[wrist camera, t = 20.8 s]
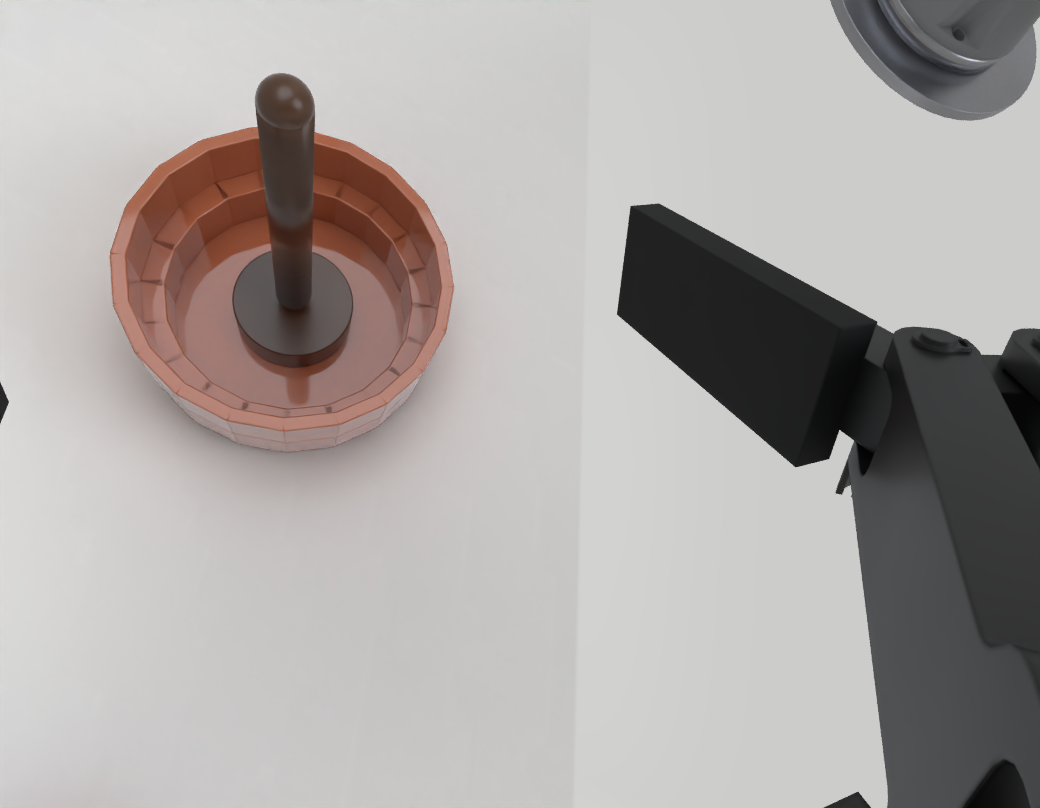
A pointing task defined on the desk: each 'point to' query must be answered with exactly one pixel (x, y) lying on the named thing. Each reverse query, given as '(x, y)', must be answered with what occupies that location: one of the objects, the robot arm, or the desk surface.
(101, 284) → the desk surface
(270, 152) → the brown peg stand
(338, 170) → the bowl
